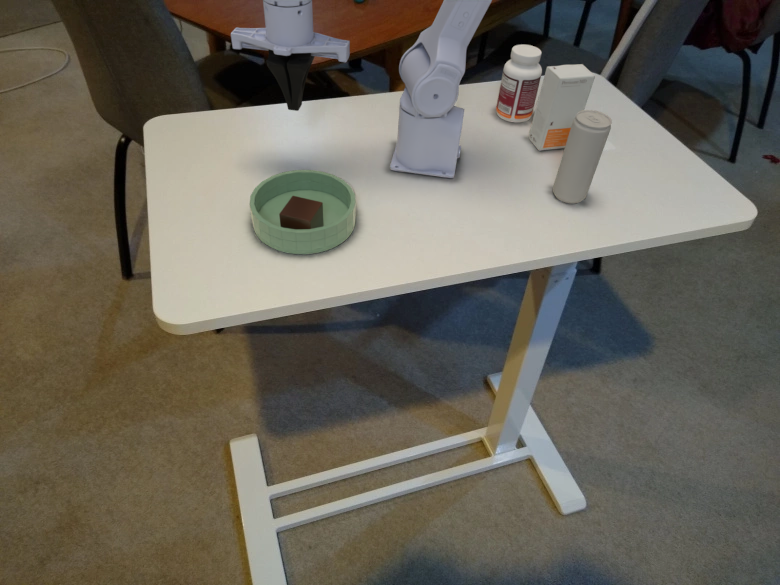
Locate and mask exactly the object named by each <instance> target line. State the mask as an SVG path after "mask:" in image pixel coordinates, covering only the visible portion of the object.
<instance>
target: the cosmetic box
mask: <svg viewBox="0 0 780 585" xmlns="http://www.w3.org/2000/svg"><path fill="white" fill-rule="evenodd" d="M544 72H545V73H544V77H543V80H542V84H541V87H540V91H539V94H538V99H537V103H536V107H535V110H534V114H533V118H532V122H531V125H530V129H529V132H528V139H529V141H530V142H531V143H532V144H533V145H534V147H535V148H536V149H537V151H539V152H540V151H547V150H548V151H549V150H557V149H565V146H566V142H567V139H568V136H569V133H570V129H571V126H572V123H573V120H574V118H575V117H576V114H577V113H578V112H579V111H582V110H586V106H587V103H588V100H589V96H590V94H591V90H592V88H593V85H594V82H595V78H596V75H595V74H594V73H593V72H592V71H591V70H589V69H588V68H587V67H586V66H585V65H584V63H580V64H561V65H551V66H550V65H549V66H546V69H545V71H544Z"/></svg>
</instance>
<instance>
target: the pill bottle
mask: <svg viewBox="0 0 780 585" xmlns="http://www.w3.org/2000/svg"><path fill="white" fill-rule="evenodd" d="M541 57H542V50H541V49H540V48H539V47H537V46H533V45H531V44H516V45H514V46H513V47H512V48H511V52H510V59H508V60H507V61H506V63H505V64H504V66H503V70H502V75H501V80H500V86H499V91H498V95H497V96H498V97H497V102H496V108H495V112H496V115H497V116H498V117H499V118H500V119H502V120H504V121H505V122H512V123H523V122H524V123H525V122H527V121H528V120H530V119H531V118H532V116H533V113H534V108H535V104H536V99H537V95H538V90H539V87H540V83H541V79H542V74H543V67H542V65H541V64H540V61H541Z"/></svg>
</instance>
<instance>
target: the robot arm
mask: <svg viewBox="0 0 780 585" xmlns="http://www.w3.org/2000/svg"><path fill="white" fill-rule="evenodd" d="M492 1H493V0H443V1H442V3H441V5H440V8H439V9H438V12H437V14H436V16H435V18H434V21H433V22H432V24H431V25H430V26H429V27H427V28H426V29H423V31H421V32H420V34H419V36H418V38H417V40H416V41H415V42H414V44H413V45H412V46H410V48H408V49H407V50H406V51H405V52H404V53H403V55H402V56H401V58H400V60H399V63H398V64H399V65H398V73H399V76H400V78H401V81H402V82H403V83H404V89H403V92H402V94H401V96H400V98H399V107H398V123H397V124H398V125H397V137H396V138H397V140H396V143H395V148H394V150H393V155H392V158H391V162H390V164H389V170H391V171H395V172H403V173H409V174H416V175H425V176H433V177H440V178H448V179H454V178H455V174H456V167H457V161H458V159H460V157H461V151H462V150H461V149H462V145H460V144H461V143H460V142H461V136H462V129H463V122H464V116H465V108H464V107H459V106H456V105H455V104H456V103H457V101H458V98H459V93H460V91H459V90H460V85H461V84H460V83H461V80H462V78H463V77H464V75H465V73H466V64H467V63H466V62H467V50H468V47H469V44H470V42H471V41H472V39H473V37H474V35H475V34H476V32H477V29H478V27H479V26H480V24H481V22H482V20H483V18H484V16H485V14H486V12H487V11H488V9H489V7H490V5H491V3H492ZM262 4H263V5H262V6H263V15H264V24H265V25H264V26H265V27H251V28H250V27H238V26H237V27H235V28H234V29H232V31H231V32H230V40H231V45H232V47H231V48H232V49H233V50H242V49H251V50H260V51H267V52H268V55H267V56H268V57H267V59H266V61H265V62H266V66H267V68H268V69H269V71H270V72H271V73H272V75H273V76H274V78H275V79H276V82H277V83H278V86H279V88H280V90H281V92H282V94H283V97H284V99H285V102H286V106H287V109H288V110H289V111H295V112H298V111H299V110H300V109H301V107H302V105H303V98H304V97H303V96H304V90H305V86H306V83H307V82H306V81H307V78H308V75H309V72H310V69H311V66H312V64H313V63H314V62H313V61H314V59H315V57H317V58H327V59H335V60H338V62H339V63H340V62H341V63H347V62H348V61H349V58H350V56H351V55H350V54H351V51H350V50H351V49H350V47H351V44H350V43H351V41H350V40H346V39H341V38H336V37H332V36H329V35H325V34H322V33H319V32H315V31H314V14H313V11H314V10H313V0H262Z"/></svg>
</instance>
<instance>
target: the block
mask: <svg viewBox="0 0 780 585" xmlns="http://www.w3.org/2000/svg"><path fill="white" fill-rule="evenodd" d="M279 216H280V226H281V227H283V228H290V229H313V228H318V227H323V226H324V223H323V202H319V201H314V200H310V199H306V198H301V197H297V196H292V197H291V199H290V200H289V201H288V203H287V204H286V205H285V207H284V208H283V210H282V211H281V212H280V214H279Z"/></svg>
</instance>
